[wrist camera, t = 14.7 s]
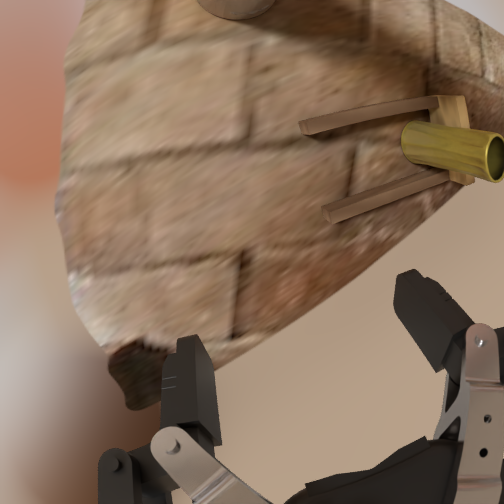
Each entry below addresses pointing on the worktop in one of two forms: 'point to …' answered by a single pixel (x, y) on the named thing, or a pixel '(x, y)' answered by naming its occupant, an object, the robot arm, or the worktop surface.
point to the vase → (455, 149)
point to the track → (441, 112)
